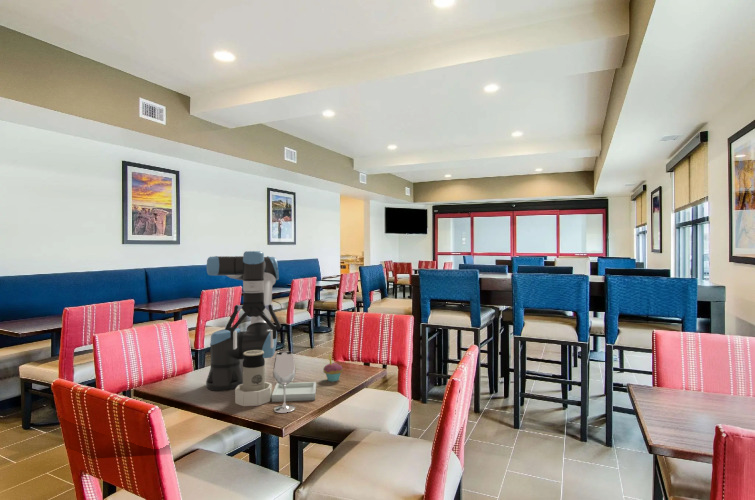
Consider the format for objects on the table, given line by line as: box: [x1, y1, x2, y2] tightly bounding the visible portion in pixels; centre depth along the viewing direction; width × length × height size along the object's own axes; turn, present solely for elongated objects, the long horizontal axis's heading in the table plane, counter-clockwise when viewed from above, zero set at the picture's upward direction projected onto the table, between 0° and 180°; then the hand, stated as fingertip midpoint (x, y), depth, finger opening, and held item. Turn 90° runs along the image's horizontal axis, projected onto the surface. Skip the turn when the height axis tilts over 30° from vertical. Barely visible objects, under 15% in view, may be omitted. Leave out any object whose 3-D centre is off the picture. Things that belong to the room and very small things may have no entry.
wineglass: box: [272, 350, 297, 414], centre depth 148 cm, size 8×8×20 cm
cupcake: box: [323, 353, 344, 382], centre depth 181 cm, size 9×8×12 cm
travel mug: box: [242, 350, 266, 392], centre depth 157 cm, size 8×8×18 cm
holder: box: [234, 381, 273, 407], centre depth 157 cm, size 13×13×5 cm
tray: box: [271, 381, 317, 403], centre depth 163 cm, size 16×14×2 cm
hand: (253, 348), depth 157 cm, fingers open, 13 cm apart
